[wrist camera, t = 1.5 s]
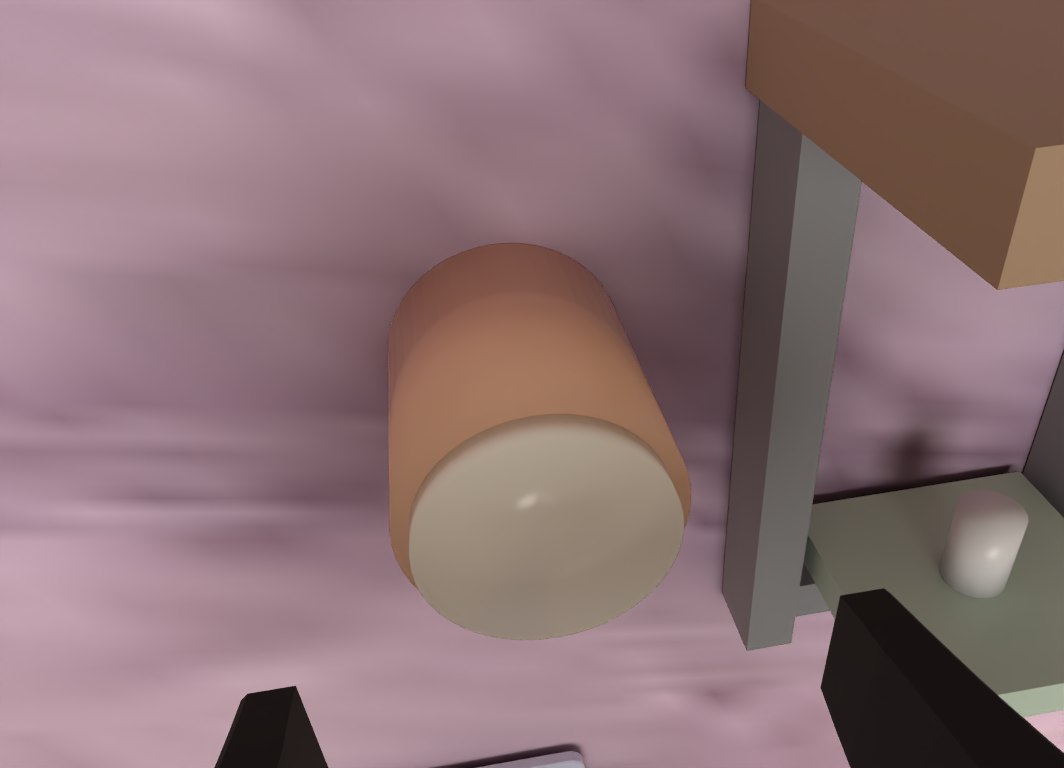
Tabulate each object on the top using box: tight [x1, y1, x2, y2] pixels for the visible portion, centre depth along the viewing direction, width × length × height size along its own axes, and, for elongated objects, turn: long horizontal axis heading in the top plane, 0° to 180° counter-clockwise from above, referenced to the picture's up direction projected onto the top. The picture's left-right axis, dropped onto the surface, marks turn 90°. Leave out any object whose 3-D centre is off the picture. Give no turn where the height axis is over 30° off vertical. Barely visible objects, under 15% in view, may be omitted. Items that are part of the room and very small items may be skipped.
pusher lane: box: [722, 0, 1064, 651], centre depth 17 cm, size 16×10×8 cm, turn 4°
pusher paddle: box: [804, 471, 1064, 717], centre depth 19 cm, size 3×6×6 cm, turn 94°
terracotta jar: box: [388, 243, 691, 640], centre depth 16 cm, size 5×5×6 cm
